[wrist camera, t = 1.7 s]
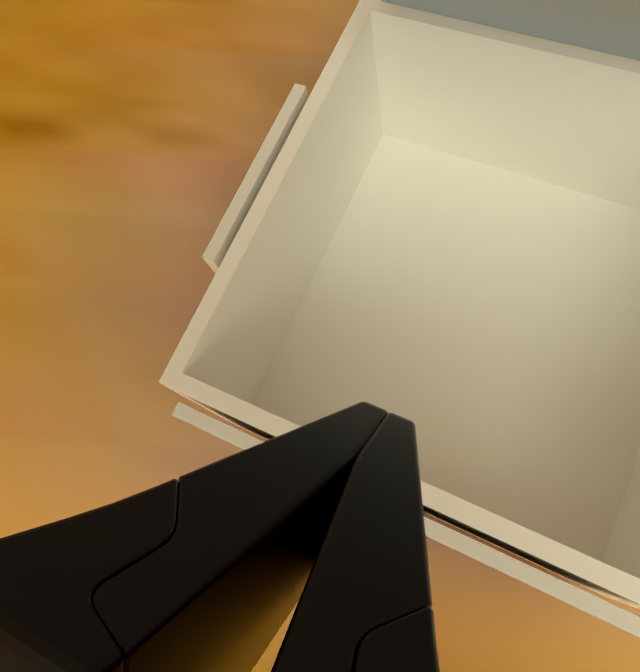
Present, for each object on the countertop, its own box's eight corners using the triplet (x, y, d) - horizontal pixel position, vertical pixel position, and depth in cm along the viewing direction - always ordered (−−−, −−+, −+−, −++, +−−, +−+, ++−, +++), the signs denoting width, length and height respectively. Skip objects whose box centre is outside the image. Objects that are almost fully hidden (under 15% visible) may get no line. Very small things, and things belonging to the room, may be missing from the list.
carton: (617, 625, 19) (719, 675, 13) (211, 432, 23) (127, 394, 17) (741, 235, 22) (874, 112, 16) (363, 125, 26) (344, -9, 20)
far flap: (972, 63, 10) (994, 29, 10) (290, -75, 13) (296, -102, 13) (815, 100, 16) (825, 81, 16) (381, 1, 19) (386, -17, 19)
